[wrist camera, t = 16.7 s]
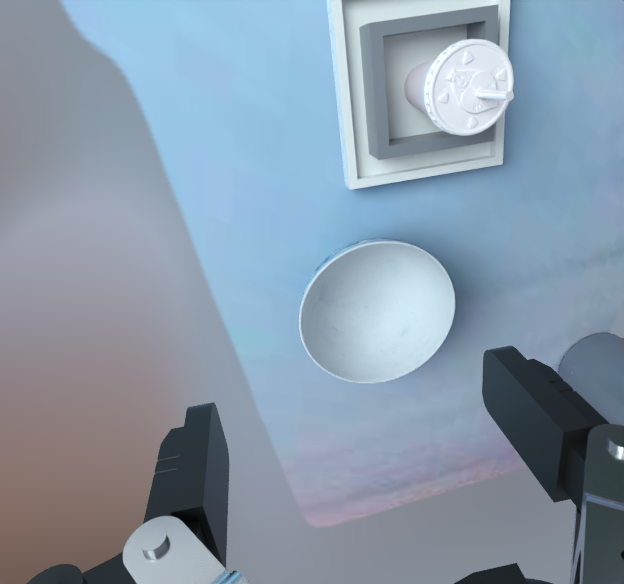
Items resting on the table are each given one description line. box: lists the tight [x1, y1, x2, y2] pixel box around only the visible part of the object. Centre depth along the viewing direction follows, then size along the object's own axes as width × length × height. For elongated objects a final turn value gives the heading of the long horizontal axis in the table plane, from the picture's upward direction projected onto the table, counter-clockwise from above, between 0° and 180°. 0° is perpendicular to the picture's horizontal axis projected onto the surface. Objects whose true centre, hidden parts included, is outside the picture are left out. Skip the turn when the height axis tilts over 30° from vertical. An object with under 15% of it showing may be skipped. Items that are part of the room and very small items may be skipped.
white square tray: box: [327, 0, 510, 190], centre depth 40 cm, size 15×16×5 cm
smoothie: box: [404, 39, 514, 136], centre depth 35 cm, size 6×6×14 cm
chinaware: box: [299, 238, 455, 384], centre depth 47 cm, size 15×15×8 cm
